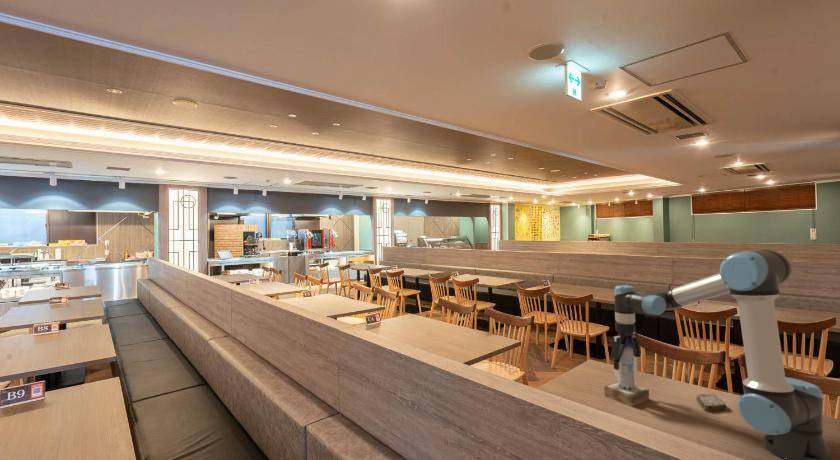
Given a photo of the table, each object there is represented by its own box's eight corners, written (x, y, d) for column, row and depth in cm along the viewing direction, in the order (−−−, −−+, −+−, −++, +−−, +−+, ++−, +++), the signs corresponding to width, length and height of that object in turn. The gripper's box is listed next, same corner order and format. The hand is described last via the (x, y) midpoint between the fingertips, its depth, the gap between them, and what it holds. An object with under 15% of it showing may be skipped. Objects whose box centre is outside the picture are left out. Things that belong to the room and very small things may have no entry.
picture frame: (649, 399, 158) (648, 389, 158) (631, 406, 152) (631, 396, 152) (621, 389, 169) (621, 379, 169) (604, 395, 163) (604, 385, 163)
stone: (693, 396, 161) (693, 389, 161) (717, 399, 158) (717, 392, 158) (704, 412, 147) (704, 405, 147) (731, 416, 144) (730, 408, 144)
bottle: (613, 386, 162) (612, 340, 162) (624, 382, 165) (623, 337, 164) (628, 392, 156) (626, 344, 156) (638, 388, 159) (637, 341, 158)
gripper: (632, 316, 169) (633, 365, 169) (599, 324, 158) (600, 376, 158) (649, 320, 163) (650, 371, 163) (616, 328, 152) (617, 382, 152)
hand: (626, 373), depth 161 cm, fingers open, 10 cm apart
